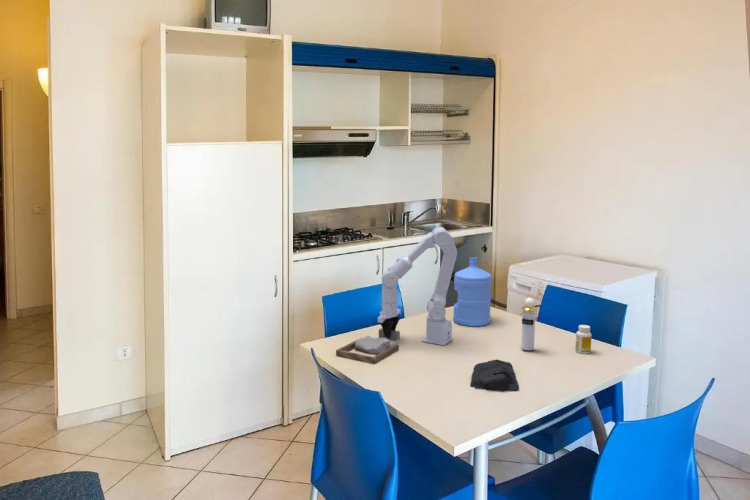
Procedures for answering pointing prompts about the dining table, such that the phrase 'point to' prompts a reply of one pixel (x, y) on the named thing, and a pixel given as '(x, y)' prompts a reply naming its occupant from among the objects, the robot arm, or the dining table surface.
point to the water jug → (472, 296)
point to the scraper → (393, 338)
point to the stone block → (372, 345)
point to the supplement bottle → (583, 339)
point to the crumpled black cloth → (494, 376)
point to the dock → (344, 353)
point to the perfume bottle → (528, 324)
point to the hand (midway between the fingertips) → (389, 336)
